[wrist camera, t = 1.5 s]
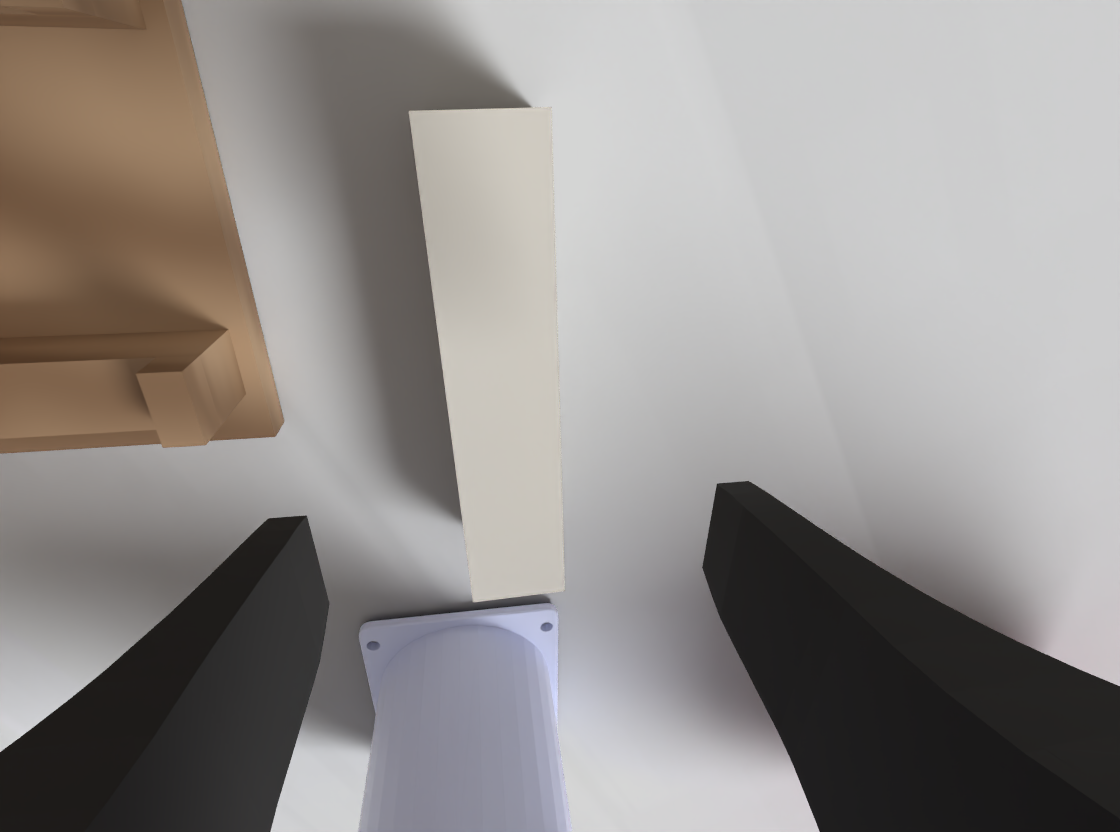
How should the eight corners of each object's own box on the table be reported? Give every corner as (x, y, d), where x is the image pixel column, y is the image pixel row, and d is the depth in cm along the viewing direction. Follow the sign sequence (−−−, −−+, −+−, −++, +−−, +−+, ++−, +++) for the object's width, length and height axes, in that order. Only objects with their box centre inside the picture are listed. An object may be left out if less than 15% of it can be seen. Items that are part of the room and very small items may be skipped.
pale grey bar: (549, 516, 22) (564, 590, 19) (472, 524, 22) (472, 602, 18) (532, 109, 16) (551, 107, 12) (422, 112, 15) (408, 111, 12)
